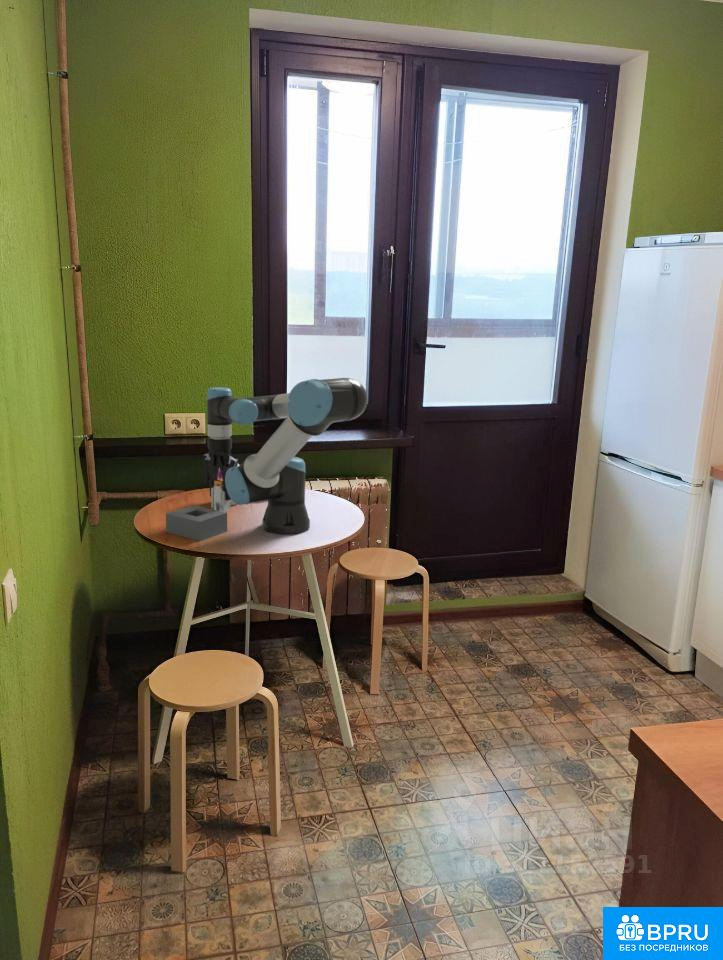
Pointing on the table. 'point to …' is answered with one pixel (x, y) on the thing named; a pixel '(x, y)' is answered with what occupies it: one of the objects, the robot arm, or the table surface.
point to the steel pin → (218, 494)
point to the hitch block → (196, 522)
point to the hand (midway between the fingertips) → (220, 508)
